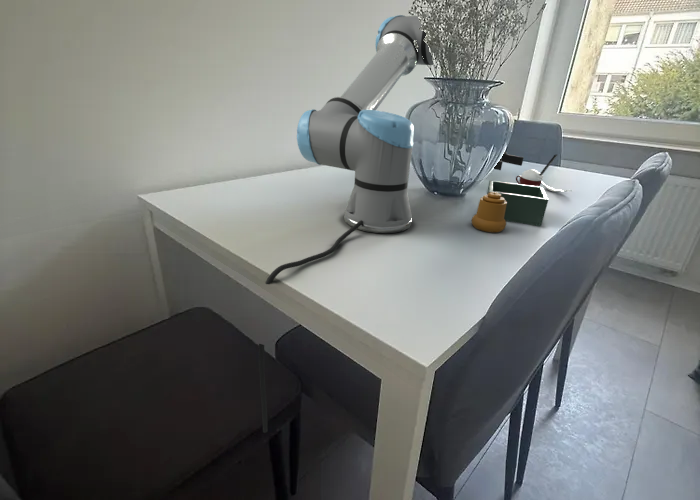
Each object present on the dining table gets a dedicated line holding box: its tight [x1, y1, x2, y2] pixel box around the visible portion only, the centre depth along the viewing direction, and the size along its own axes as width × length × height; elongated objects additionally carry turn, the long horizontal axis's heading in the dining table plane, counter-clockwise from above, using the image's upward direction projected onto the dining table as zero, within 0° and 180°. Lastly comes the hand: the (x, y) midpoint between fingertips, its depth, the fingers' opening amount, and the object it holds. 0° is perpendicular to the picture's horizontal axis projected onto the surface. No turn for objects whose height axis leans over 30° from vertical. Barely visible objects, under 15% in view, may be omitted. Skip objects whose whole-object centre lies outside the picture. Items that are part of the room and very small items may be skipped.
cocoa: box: [515, 154, 558, 187], centre depth 120 cm, size 10×6×12 cm, turn 23°
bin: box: [486, 179, 549, 227], centre depth 98 cm, size 12×13×7 cm
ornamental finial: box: [471, 192, 507, 234], centre depth 88 cm, size 8×8×8 cm
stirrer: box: [541, 181, 573, 193], centre depth 126 cm, size 20×4×5 cm
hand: (512, 163), depth 125 cm, fingers open, 13 cm apart
